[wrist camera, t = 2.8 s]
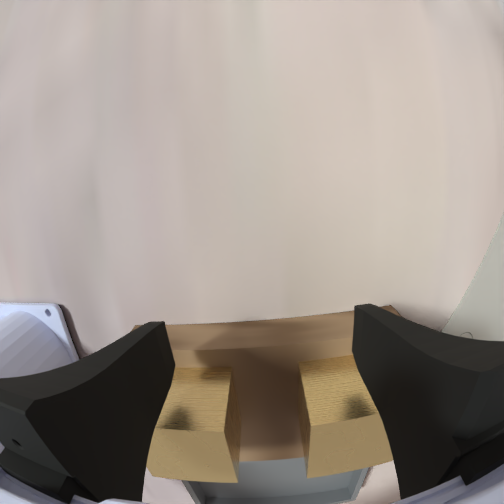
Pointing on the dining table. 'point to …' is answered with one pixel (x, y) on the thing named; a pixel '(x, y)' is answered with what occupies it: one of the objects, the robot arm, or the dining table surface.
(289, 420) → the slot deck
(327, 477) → the tray
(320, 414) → the tan wooden cube
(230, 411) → the wooden cube
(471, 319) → the light grey rounded slab
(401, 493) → the robot arm
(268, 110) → the dining table surface
